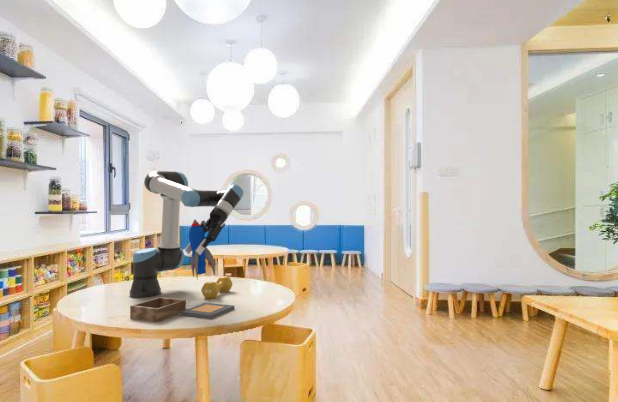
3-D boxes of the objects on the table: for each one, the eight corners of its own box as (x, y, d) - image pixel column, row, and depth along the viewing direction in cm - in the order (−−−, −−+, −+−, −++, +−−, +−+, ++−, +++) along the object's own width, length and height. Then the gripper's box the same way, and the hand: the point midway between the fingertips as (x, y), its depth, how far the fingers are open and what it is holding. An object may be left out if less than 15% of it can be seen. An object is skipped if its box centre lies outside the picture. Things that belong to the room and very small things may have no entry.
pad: (180, 315, 164) (180, 311, 164) (205, 305, 179) (205, 302, 179) (210, 319, 157) (210, 315, 157) (234, 309, 172) (234, 305, 172)
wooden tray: (130, 317, 161) (130, 305, 161) (160, 308, 176) (159, 297, 176) (157, 321, 155) (157, 309, 155) (185, 311, 169) (185, 300, 169)
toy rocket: (197, 280, 160) (190, 219, 161) (181, 280, 165) (175, 221, 166) (216, 274, 169) (209, 217, 170) (201, 275, 174) (195, 219, 175)
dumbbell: (216, 300, 190) (216, 283, 190) (199, 299, 192) (199, 282, 192) (234, 291, 208) (233, 276, 208) (218, 290, 211) (218, 275, 211)
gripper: (240, 218, 174) (212, 259, 161) (211, 218, 185) (183, 256, 172) (231, 206, 170) (202, 247, 156) (202, 207, 181) (172, 245, 168)
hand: (192, 252), depth 164 cm, fingers closed on toy rocket, 7 cm apart
